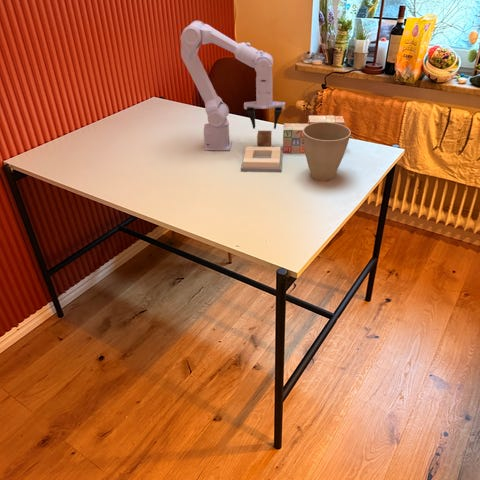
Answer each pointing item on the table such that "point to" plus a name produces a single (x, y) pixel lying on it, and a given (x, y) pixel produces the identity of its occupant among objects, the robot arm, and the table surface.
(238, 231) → the table surface
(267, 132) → the walnut block
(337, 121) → the stack of blocks
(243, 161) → the puzzle board
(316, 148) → the plant pot
